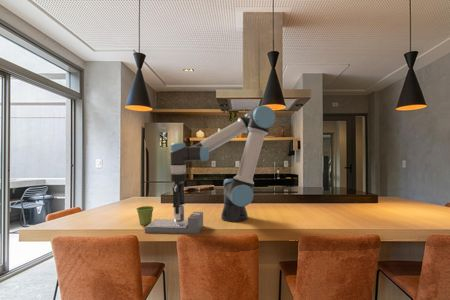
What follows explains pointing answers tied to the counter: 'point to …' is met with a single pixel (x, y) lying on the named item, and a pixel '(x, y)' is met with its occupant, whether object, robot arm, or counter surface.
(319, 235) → the counter surface
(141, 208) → the plant pot
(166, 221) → the pan
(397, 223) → the counter surface
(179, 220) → the spacer
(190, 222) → the scale
